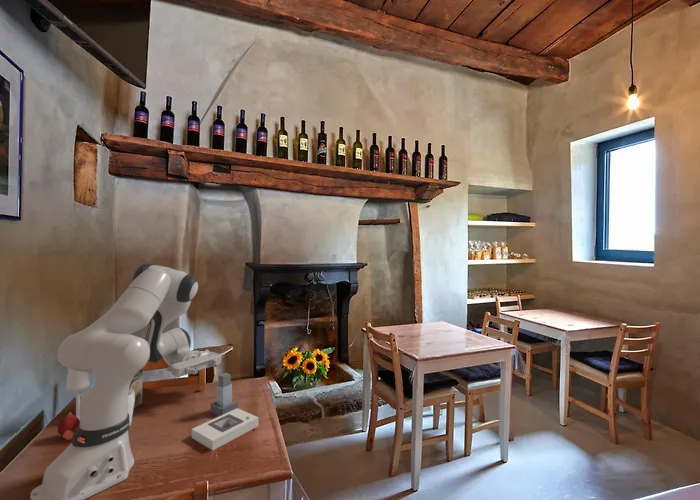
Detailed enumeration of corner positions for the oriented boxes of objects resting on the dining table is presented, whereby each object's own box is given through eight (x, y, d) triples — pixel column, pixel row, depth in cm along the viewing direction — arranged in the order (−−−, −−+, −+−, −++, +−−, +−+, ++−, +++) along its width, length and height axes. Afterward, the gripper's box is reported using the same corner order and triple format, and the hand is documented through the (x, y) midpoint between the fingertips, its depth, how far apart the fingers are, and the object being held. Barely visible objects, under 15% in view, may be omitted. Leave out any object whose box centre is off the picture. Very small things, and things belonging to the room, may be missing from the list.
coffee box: (127, 413, 128) (127, 371, 128) (110, 413, 129) (110, 371, 129) (143, 402, 138) (143, 363, 138) (127, 402, 138) (127, 363, 138)
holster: (221, 417, 126) (221, 409, 126) (209, 411, 131) (209, 403, 131) (238, 409, 132) (238, 402, 132) (226, 404, 137) (226, 397, 136)
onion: (56, 443, 109) (56, 419, 109) (58, 435, 114) (58, 411, 113) (79, 437, 112) (79, 413, 112) (80, 430, 117) (80, 407, 117)
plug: (223, 414, 129) (223, 377, 129) (216, 411, 131) (217, 375, 131) (232, 410, 132) (232, 374, 132) (225, 407, 134) (226, 372, 134)
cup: (119, 435, 114) (119, 400, 114) (97, 432, 116) (97, 397, 115) (141, 422, 123) (141, 389, 122) (120, 419, 124) (120, 386, 124)
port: (212, 450, 106) (212, 439, 106) (191, 437, 113) (191, 427, 112) (258, 425, 120) (258, 416, 120) (237, 416, 127) (237, 407, 127)
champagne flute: (84, 424, 121) (84, 357, 121) (61, 426, 119) (61, 359, 119) (93, 415, 127) (93, 351, 127) (72, 417, 125) (72, 353, 125)
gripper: (164, 361, 138) (182, 368, 130) (210, 348, 155) (228, 354, 147) (164, 376, 138) (182, 384, 130) (210, 362, 155) (228, 368, 147)
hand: (207, 368), depth 139 cm, fingers open, 8 cm apart
